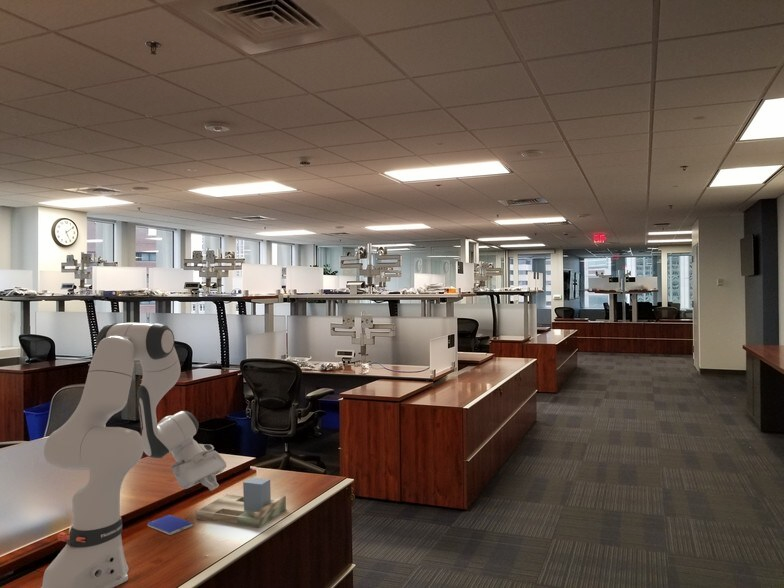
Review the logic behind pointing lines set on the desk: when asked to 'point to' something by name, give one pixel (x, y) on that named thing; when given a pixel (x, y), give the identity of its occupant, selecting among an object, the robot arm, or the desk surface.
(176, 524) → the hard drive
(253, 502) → the slate block
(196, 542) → the desk surface
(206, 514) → the box
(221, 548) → the desk surface
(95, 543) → the robot arm
